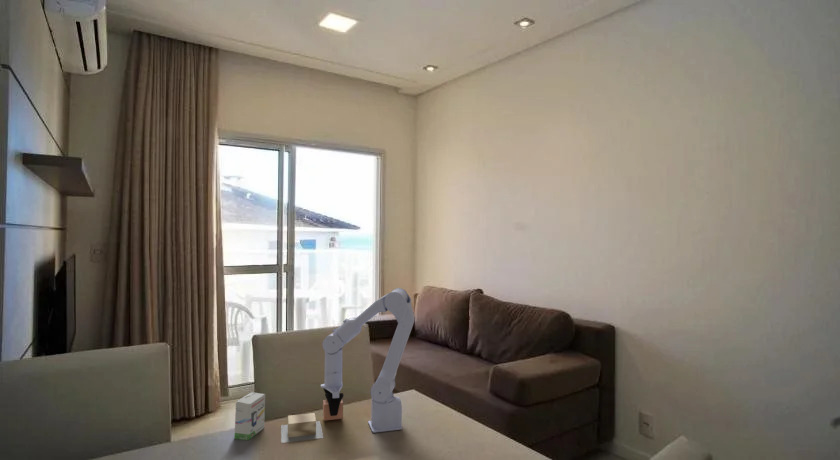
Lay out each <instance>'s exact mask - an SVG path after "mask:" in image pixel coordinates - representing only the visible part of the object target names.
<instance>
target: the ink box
mask: <svg viewBox="0 0 840 460" xmlns="http://www.w3.org/2000/svg"><path fill="white" fill-rule="evenodd" d="M265 412H266V393H262V392H261V393H259V392H254V391H251V392H249V393H248V394H246V395H244V396H243V397H241V398H240V399H238V400H236V402H235V415H234V416H235V419H234V438H233V439H236V440H242V441H249V440H251V439H252V438H253V437H254V436H256V435H257V434H258V433H260V432H261V431H262V430H263V429H265V416H266V413H265Z"/></svg>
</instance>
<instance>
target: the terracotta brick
mask: <svg viewBox="0 0 840 460" xmlns="http://www.w3.org/2000/svg"><path fill="white" fill-rule="evenodd" d="M322 416H323V421H332V420H340V419H344V401H343V399H342V400H341V402H340V405H339V410H338V414H337V415H336V416H331V415H330V411H329V404H328V401H327V399H323V400H322Z"/></svg>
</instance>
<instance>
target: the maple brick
mask: <svg viewBox="0 0 840 460" xmlns="http://www.w3.org/2000/svg"><path fill="white" fill-rule="evenodd" d="M316 421H317V420H316V414H315V412H312V413H311V412H310V413H301V414H293V415H292V414H289V415H287V424H288V437H296V436H305V435H313V434H316Z"/></svg>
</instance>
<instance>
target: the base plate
mask: <svg viewBox="0 0 840 460" xmlns="http://www.w3.org/2000/svg"><path fill="white" fill-rule="evenodd" d="M318 439H319V440H320V439H324V433H323V428H322V425H321V421H320V420H316V434H313V435H305V436H296V437H288V423H287V424H281V425H280V442H281V444H285V443H293V442H302V441H303V442H304V441H309V440H310V441H311V440H318Z"/></svg>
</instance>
